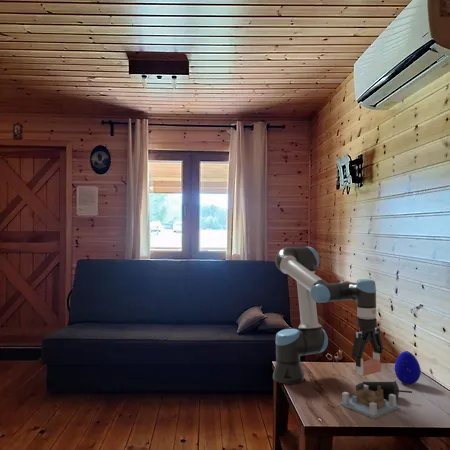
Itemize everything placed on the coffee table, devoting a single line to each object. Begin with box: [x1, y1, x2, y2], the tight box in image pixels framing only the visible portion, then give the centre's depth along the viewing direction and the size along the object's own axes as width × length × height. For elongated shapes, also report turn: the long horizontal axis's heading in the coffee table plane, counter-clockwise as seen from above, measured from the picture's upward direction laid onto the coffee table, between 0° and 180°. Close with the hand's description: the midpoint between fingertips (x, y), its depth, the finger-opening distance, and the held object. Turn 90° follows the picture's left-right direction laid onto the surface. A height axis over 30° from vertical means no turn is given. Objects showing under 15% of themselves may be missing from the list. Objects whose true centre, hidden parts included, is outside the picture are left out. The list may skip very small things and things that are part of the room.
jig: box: [340, 384, 399, 420], centre depth 168 cm, size 16×16×5 cm
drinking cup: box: [362, 381, 413, 401], centre depth 176 cm, size 8×8×20 cm
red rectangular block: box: [355, 358, 382, 377], centre depth 168 cm, size 10×4×4 cm, turn 118°
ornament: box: [394, 350, 422, 385], centre depth 192 cm, size 11×9×15 cm
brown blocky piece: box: [355, 382, 384, 409], centre depth 168 cm, size 10×4×9 cm, turn 39°
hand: (368, 371), depth 168 cm, fingers closed on red rectangular block, 10 cm apart
